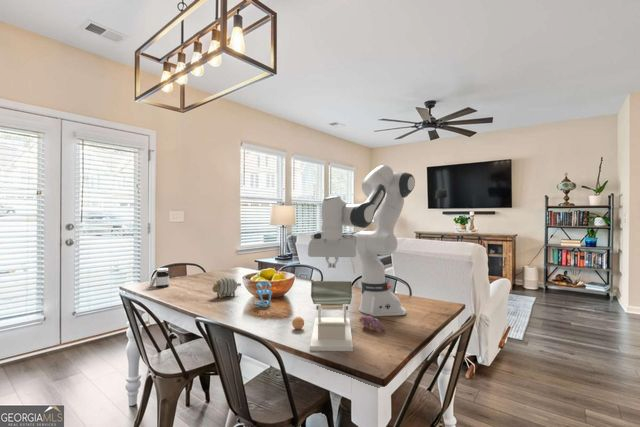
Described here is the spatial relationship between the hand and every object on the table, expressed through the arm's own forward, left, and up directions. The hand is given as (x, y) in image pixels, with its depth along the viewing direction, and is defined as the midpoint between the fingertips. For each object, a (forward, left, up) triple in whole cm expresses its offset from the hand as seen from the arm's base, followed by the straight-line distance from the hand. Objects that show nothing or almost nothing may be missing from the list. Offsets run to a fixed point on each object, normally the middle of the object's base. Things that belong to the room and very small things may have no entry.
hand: (332, 267), depth 138 cm
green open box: (0, +7, -13) cm, 15 cm away
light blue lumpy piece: (+36, -32, -25) cm, 55 cm away
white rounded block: (+114, -72, -25) cm, 137 cm away
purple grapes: (-16, +1, -25) cm, 30 cm away
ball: (+14, +3, -23) cm, 27 cm away
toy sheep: (+61, -48, -25) cm, 82 cm away
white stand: (0, +8, -25) cm, 26 cm away
